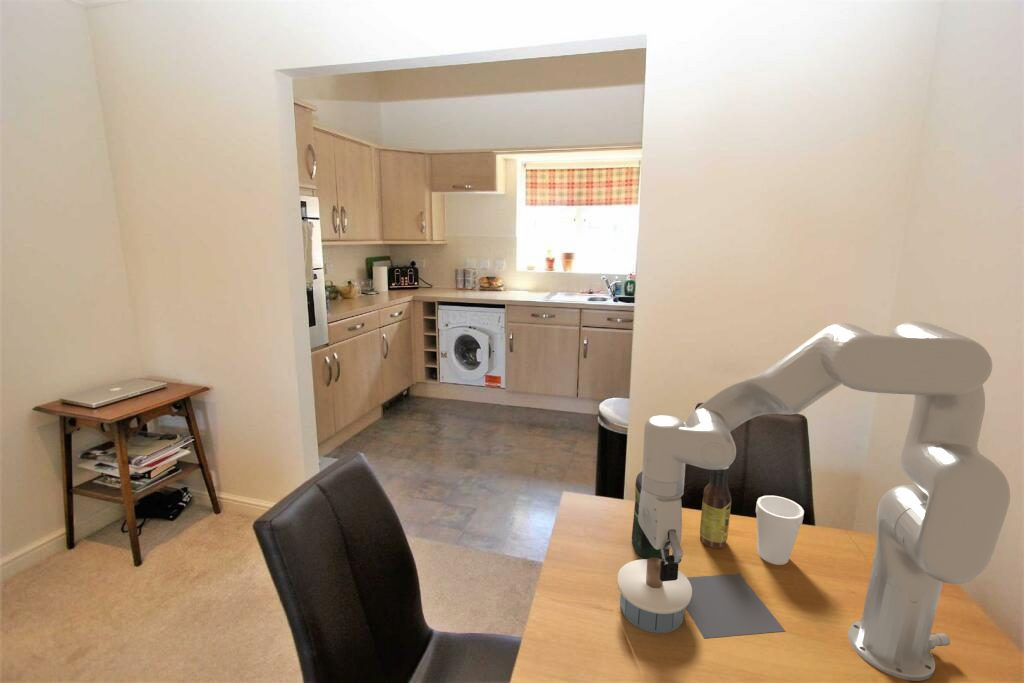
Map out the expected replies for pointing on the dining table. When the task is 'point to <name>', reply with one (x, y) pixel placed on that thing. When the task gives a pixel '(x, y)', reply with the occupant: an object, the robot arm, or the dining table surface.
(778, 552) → the foam cup
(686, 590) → the lid
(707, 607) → the mat
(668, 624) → the bowl
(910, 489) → the robot arm
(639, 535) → the coffee jar
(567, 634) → the dining table surface
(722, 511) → the sauce bottle
